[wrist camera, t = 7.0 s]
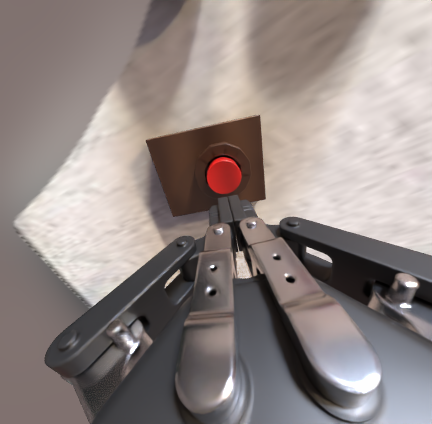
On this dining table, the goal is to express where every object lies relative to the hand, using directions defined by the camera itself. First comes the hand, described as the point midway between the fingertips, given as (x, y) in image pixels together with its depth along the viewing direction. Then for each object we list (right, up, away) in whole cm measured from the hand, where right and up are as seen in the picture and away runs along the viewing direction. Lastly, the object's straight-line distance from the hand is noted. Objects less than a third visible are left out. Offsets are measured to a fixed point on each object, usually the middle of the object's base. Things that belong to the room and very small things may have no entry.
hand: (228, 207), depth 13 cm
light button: (0, +5, +9) cm, 10 cm away
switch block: (-2, +6, +12) cm, 14 cm away
